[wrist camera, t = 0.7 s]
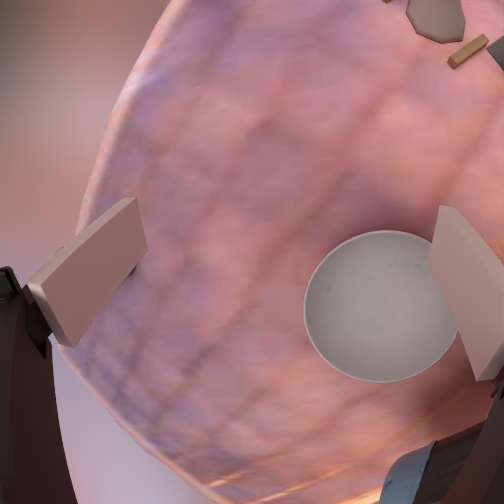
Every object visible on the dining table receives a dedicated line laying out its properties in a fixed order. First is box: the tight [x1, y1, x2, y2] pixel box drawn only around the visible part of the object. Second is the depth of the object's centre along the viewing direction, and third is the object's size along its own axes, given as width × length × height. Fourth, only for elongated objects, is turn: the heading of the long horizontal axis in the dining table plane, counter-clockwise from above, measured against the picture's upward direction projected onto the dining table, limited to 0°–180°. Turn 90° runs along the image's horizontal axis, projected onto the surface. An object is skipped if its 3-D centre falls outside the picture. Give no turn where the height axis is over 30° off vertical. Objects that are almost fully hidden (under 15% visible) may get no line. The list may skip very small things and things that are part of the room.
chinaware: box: [303, 230, 458, 383], centre depth 28 cm, size 15×15×8 cm
